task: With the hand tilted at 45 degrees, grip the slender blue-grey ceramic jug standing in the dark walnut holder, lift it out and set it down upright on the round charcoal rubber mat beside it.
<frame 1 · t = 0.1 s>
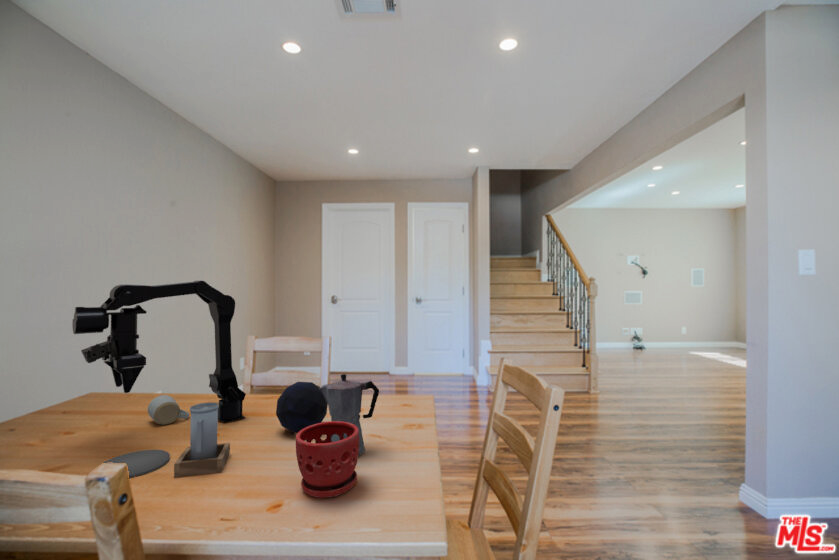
hand: (122, 389, 105), 15 cm above the table, tool pointing down, fingers open, 9 cm apart
decorative orb: (302, 431, 116), on the table
jug: (203, 437, 92), in the jug holder
rubber mat: (134, 465, 93), on the table
ceramic mug: (169, 421, 123), on the table
moka pot: (348, 452, 101), on the table
jug holder: (203, 465, 93), on the table
plant pot: (327, 488, 83), on the table
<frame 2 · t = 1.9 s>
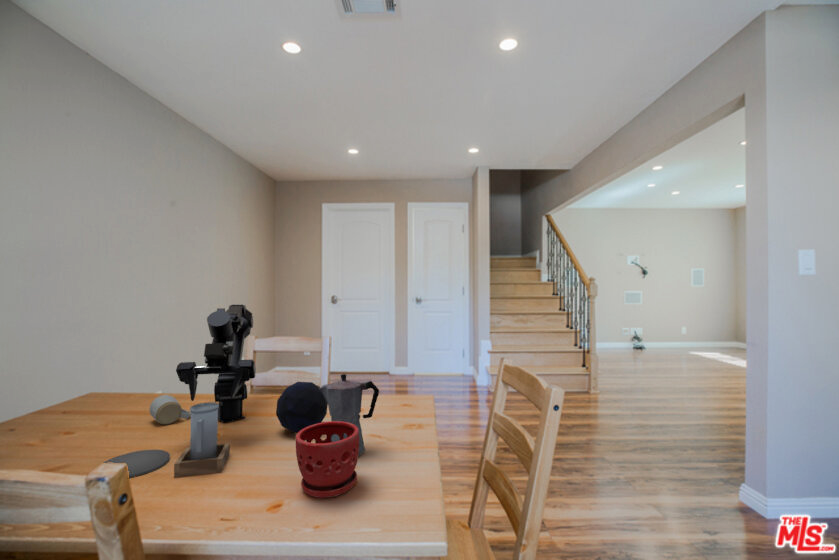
hand: (212, 398, 101), 14 cm above the table, tool tilted 45°, fingers open, 9 cm apart
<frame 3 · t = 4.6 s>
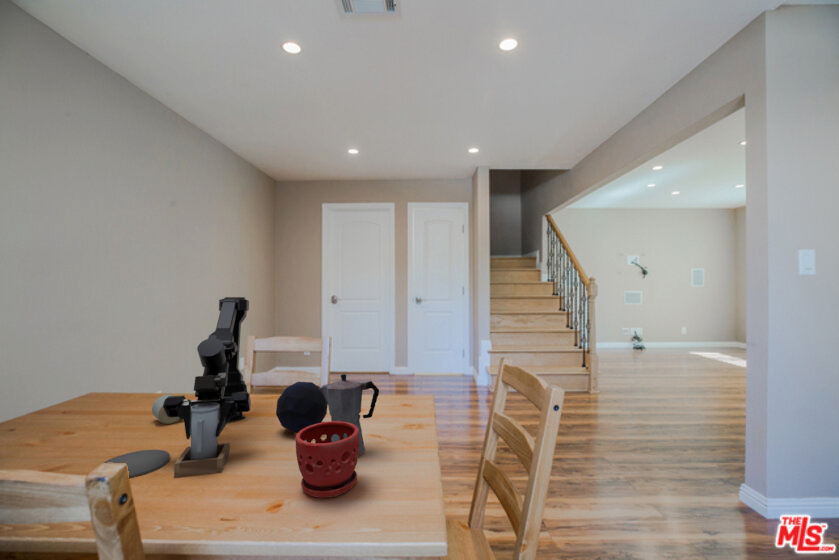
hand: (202, 437, 92), 7 cm above the table, tool tilted 45°, fingers closed on jug, 6 cm apart
jug: (203, 436, 92), in the jug holder, touching gripper
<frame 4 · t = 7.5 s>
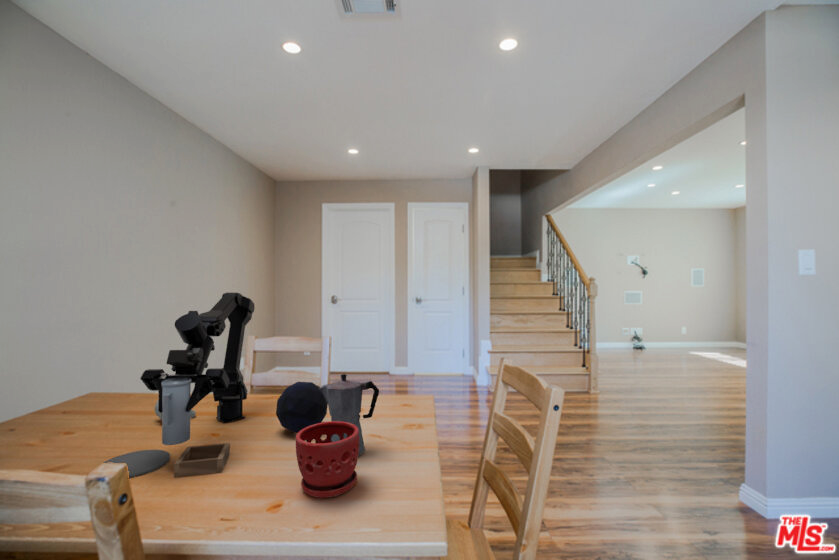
hand: (173, 411, 91), 13 cm above the table, tool tilted 45°, fingers closed on jug, 6 cm apart
jug: (174, 411, 91), point 13 cm above the table, touching gripper
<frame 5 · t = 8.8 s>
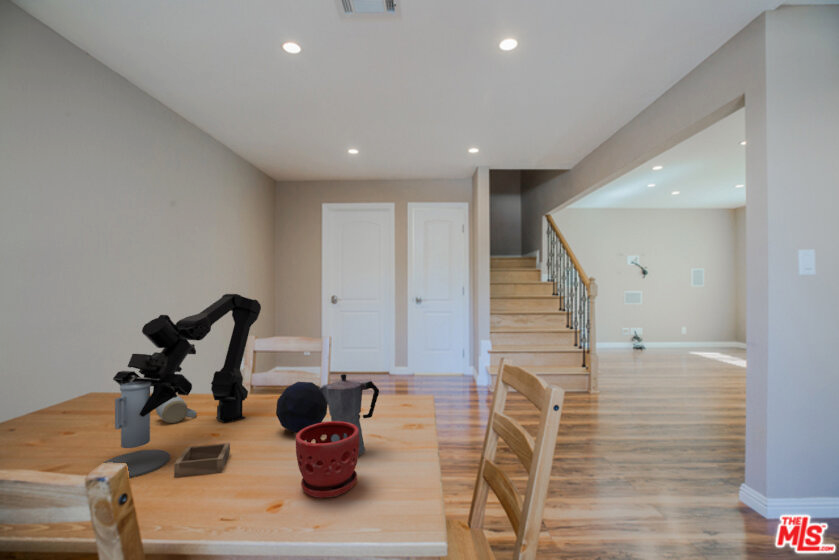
hand: (130, 414, 92), 12 cm above the table, tool tilted 45°, fingers closed on jug, 6 cm apart
jug: (132, 414, 92), point 12 cm above the table, touching gripper
when the fingers open (8 cm above the table, at t = 10.0 s): jug stays where it is, resting on rubber mat.
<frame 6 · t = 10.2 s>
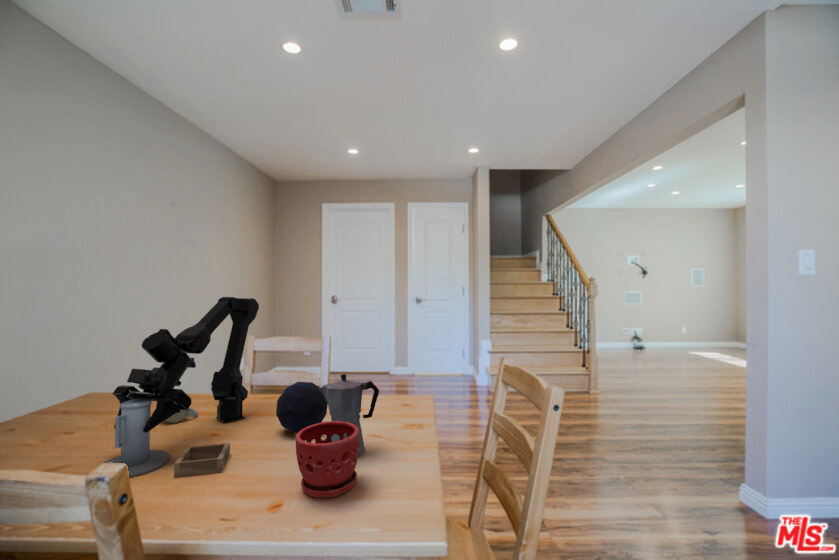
hand: (129, 430, 92), 9 cm above the table, tool tilted 45°, fingers open, 8 cm apart
jug: (132, 433, 92), on the rubber mat, point 8 cm above the table
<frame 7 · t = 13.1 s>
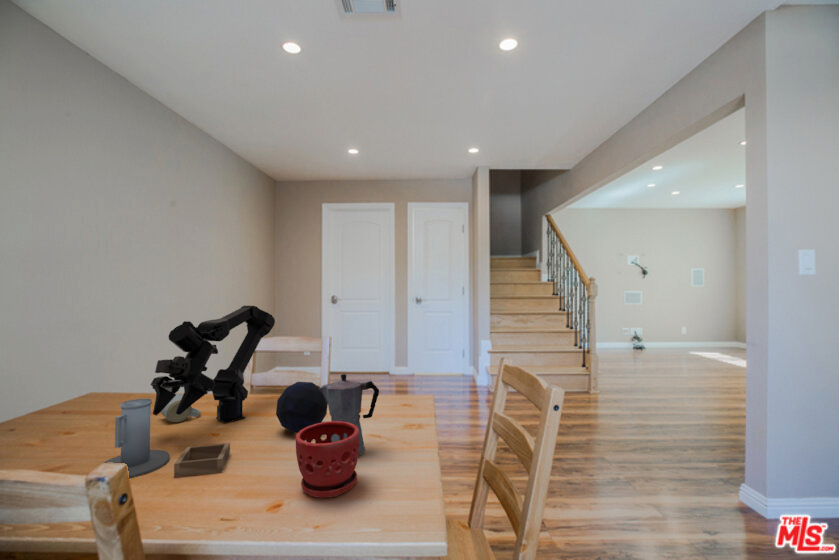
hand: (165, 414, 102), 9 cm above the table, tool tilted 40°, fingers open, 9 cm apart
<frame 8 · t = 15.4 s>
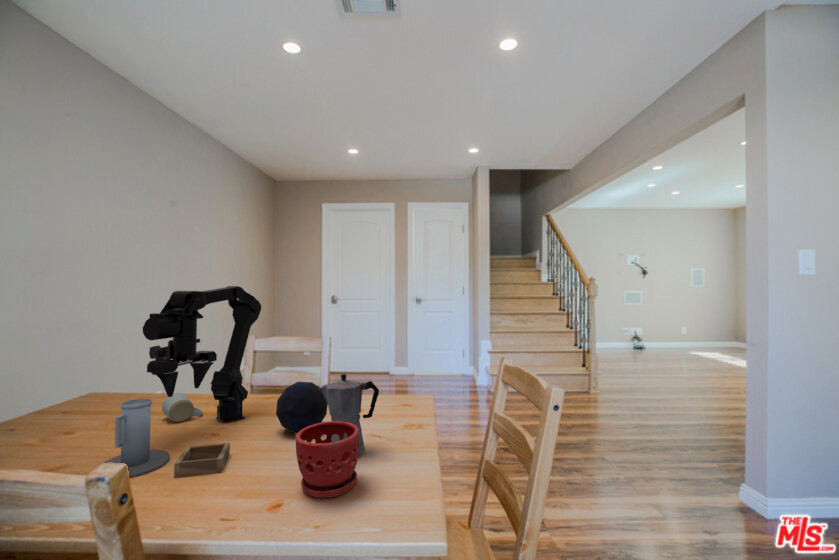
hand: (183, 392, 109), 13 cm above the table, tool pointing down, fingers open, 9 cm apart
at the end: jug inside the target area on the rubber mat (0.1 cm from its centre), point 7.8 cm above the rubber mat's base; jug tilted 0°; the gripper is holding nothing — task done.
